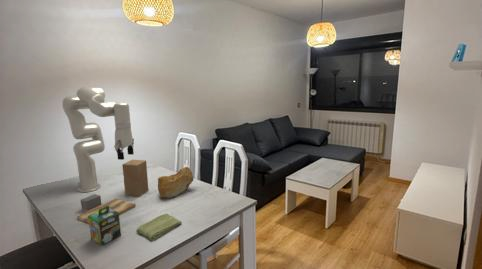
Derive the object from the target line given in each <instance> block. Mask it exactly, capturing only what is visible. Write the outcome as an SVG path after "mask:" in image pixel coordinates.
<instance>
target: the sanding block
mask: <svg viewBox="0 0 482 269" xmlns="http://www.w3.org/2000/svg"><path fill="white" fill-rule="evenodd" d="M101 197H102V196H101V195H100V194H96V193H94V194H91V195H89V196H86V197H84V198H82V199H80V206H81V211H84V212H87V211H89V210H92V209H94V208H96V207H98V206H100V205H102V198H101Z"/></svg>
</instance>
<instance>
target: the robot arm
mask: <svg viewBox="0 0 482 269" xmlns="http://www.w3.org/2000/svg"><path fill="white" fill-rule="evenodd" d="M105 97H106V93H105V91H104V89H103V88H101V87H98V86H92V87H91V86H88V87H87V86H85V87H80V88H79V89H78V90H77V91H76V95H69V96H66V97H64V98H63V99H62V102H61V103H62V109H63V111H64V113H65V115H66V116H67V120H68V122H69V127H70V129H71V130H70V131H71V133H72V137H73V138H74V139H75V140H83V141H78V142H76V143H75V144H74V145H73V152H74V155H75V158H76V165H77V171H78V172H77V173H78V179H79V182H78V185H79V187H78V188H77V191H78V192H79V193H89V192H94V191H97V190H99V189H101V184H100V183H98V176H97V170H96V161H95V159H93V157H91V156H92V155H97V154H100V153H102V152H104V151H105V146H106V145H105V140H104V138H103V133H102V130H101V127H100V125H99V124H98V123H96V122H88V123H87V122H86V119H85V115H84V114H83V113H82V112H81V111H80V110H88V109H89V112H91V114H92V115H93V114H94V115H95V116H96V117H100V118H107V117H108V118H109V117H114V124H115V125H114V126H115V130H114V131H115V132H114V150H115V151H116V154H117V160H120V161H121V160H123V161H124V160H125V155H124V149H125V148H126V150H127V155H133V156H134V154H135V153H134V152H135V151H134V143H135V141H134V140H135V138H133V132H132V126H131V116H130V115H131V114H130V105H129V103H126V102H120V101H110V102H107V101H106V102H105V100H106V99H105ZM84 139H85V140H84ZM86 139H87V140H86ZM88 139H89V140H88Z"/></svg>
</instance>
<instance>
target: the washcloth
mask: <svg viewBox="0 0 482 269" xmlns="http://www.w3.org/2000/svg"><path fill="white" fill-rule="evenodd" d="M180 225H182V221H181V220H179V219H178V218H176V217H174V216H173V215H170V214H169V213H164V214H161V215H158V216H157V217H155V218H153V219H151V220H149V221H147V222H145V223H142V224H141V225H139V226H138V227H137V228H136V232H137V233H138V234H141V236H145V237H146V238H147V239H149V240H150V241H155V240H156V239H158V238H160V237H162V236H164V235H165V234H167V233H168V232H169V231H171V230H173V229H174V228H175V229H176V227H178V226H180Z"/></svg>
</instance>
